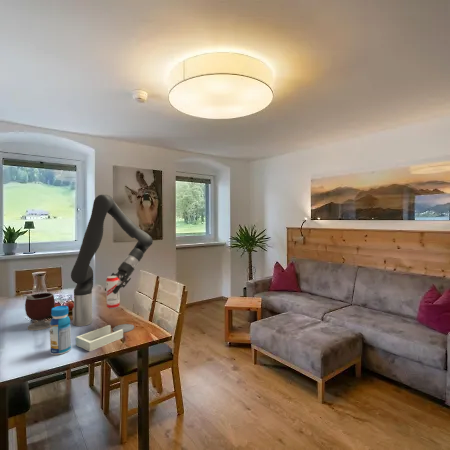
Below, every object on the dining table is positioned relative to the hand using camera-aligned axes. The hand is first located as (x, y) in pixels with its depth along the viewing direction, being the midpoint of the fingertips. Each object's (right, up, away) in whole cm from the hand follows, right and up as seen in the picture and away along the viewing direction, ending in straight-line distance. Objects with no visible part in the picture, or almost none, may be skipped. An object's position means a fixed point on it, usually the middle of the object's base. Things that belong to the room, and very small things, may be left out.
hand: (110, 292), depth 150 cm
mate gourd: (-44, -22, +12) cm, 51 cm away
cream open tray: (-2, -23, -6) cm, 24 cm away
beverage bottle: (-16, -23, -17) cm, 33 cm away
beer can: (+1, -8, +2) cm, 9 cm away
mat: (+4, -22, +9) cm, 24 cm away
